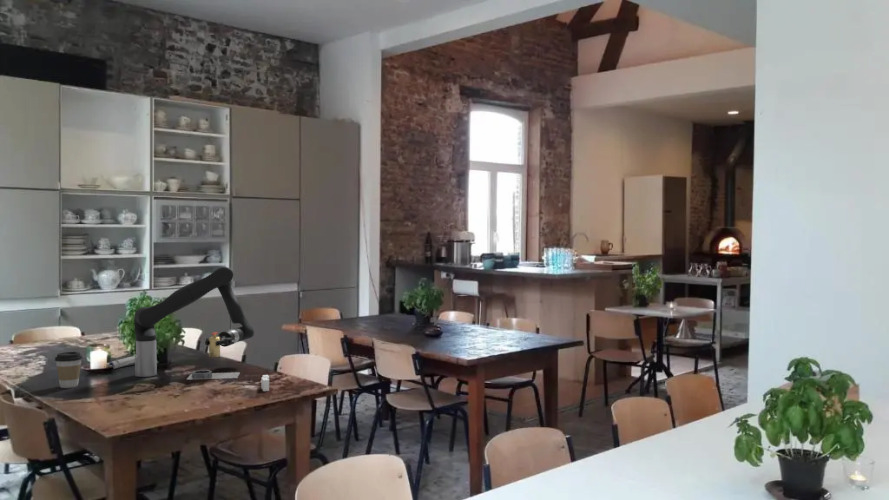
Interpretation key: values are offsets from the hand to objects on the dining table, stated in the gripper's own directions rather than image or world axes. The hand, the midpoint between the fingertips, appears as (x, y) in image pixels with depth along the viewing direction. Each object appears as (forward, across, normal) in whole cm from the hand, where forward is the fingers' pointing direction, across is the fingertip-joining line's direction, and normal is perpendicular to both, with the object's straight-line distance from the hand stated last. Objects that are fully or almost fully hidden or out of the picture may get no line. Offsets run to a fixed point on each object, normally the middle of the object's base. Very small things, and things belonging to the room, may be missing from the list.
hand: (211, 343), depth 344 cm
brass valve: (-3, 0, +7) cm, 7 cm away
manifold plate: (-3, 0, +18) cm, 18 cm away
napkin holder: (+10, +32, +18) cm, 38 cm away
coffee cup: (+25, -57, +18) cm, 65 cm away
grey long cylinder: (-25, -58, +18) cm, 65 cm away
